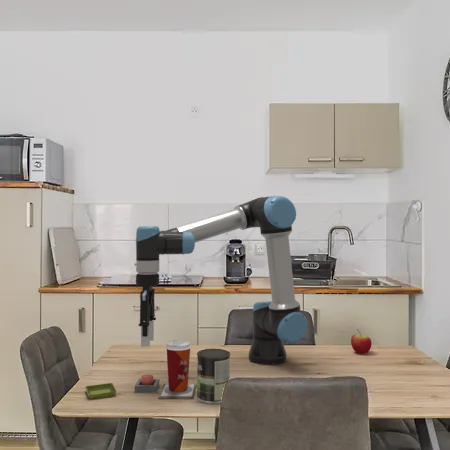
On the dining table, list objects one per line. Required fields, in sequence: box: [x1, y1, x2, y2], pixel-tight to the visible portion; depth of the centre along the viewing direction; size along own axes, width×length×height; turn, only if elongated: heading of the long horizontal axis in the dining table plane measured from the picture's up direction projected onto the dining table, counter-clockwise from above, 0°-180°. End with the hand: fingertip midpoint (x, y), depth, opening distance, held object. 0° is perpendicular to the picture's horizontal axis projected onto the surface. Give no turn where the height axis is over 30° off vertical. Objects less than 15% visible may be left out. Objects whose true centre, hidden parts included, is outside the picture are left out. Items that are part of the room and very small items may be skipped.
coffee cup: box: [165, 339, 192, 392], centre depth 155 cm, size 8×8×15 cm
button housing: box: [134, 378, 161, 394], centre depth 158 cm, size 7×7×2 cm
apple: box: [350, 328, 372, 355], centre depth 201 cm, size 8×8×10 cm
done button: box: [140, 374, 154, 385], centre depth 158 cm, size 4×4×3 cm
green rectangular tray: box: [84, 382, 117, 400], centre depth 153 cm, size 9×9×2 cm
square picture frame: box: [157, 383, 197, 400], centre depth 155 cm, size 11×12×1 cm
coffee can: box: [196, 348, 231, 405], centre depth 150 cm, size 10×10×14 cm
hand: (147, 342), depth 158 cm, fingers open, 7 cm apart
